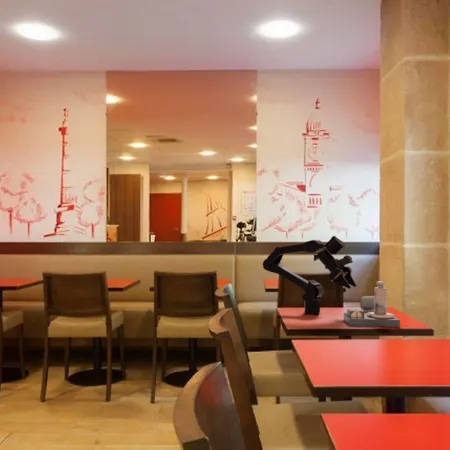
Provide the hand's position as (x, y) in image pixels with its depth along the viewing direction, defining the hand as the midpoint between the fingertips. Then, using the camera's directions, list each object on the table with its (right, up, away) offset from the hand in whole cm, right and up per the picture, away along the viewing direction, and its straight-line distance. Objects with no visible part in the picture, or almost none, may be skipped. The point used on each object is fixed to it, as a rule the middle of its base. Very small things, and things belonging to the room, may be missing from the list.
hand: (352, 287), depth 224 cm
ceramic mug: (+13, -14, +19) cm, 27 cm away
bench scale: (+4, -14, -13) cm, 19 cm away
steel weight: (+8, -10, -13) cm, 18 cm away
